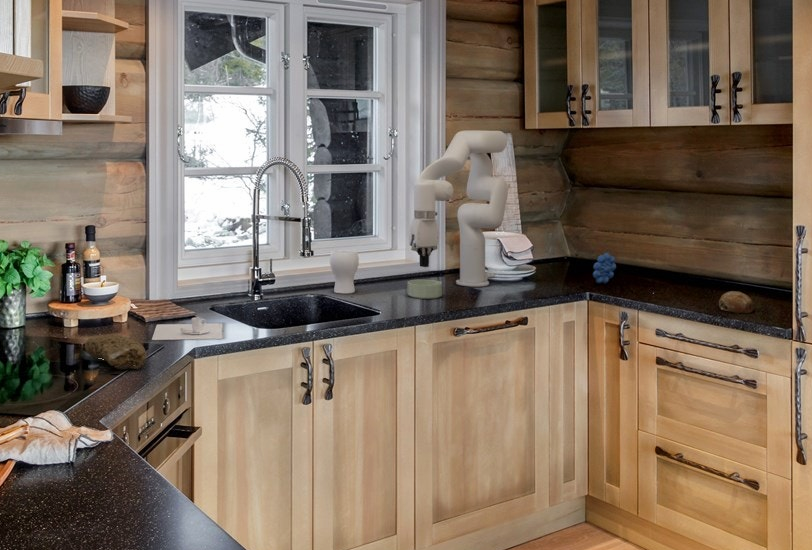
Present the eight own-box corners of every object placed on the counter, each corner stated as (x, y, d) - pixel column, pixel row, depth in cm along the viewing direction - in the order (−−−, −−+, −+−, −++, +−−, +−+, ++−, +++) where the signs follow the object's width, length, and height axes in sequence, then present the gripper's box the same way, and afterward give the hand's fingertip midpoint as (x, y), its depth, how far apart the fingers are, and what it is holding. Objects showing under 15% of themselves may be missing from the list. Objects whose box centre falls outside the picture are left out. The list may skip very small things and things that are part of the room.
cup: (358, 289, 316) (358, 249, 316) (358, 294, 306) (358, 253, 306) (330, 289, 317) (330, 249, 317) (329, 294, 307) (329, 253, 307)
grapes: (606, 280, 333) (606, 250, 333) (620, 283, 327) (620, 252, 327) (584, 283, 328) (585, 252, 328) (598, 285, 322) (598, 254, 322)
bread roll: (716, 318, 280) (708, 297, 278) (737, 303, 283) (729, 282, 281) (741, 324, 270) (734, 303, 269) (763, 309, 273) (755, 287, 272)
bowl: (428, 292, 311) (428, 278, 311) (449, 297, 300) (449, 283, 300) (400, 294, 305) (400, 281, 305) (421, 300, 294) (421, 286, 294)
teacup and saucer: (179, 335, 243) (179, 321, 243) (181, 329, 251) (181, 315, 251) (210, 335, 243) (210, 321, 243) (210, 329, 251) (210, 315, 251)
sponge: (152, 373, 209) (132, 339, 226) (148, 345, 207) (128, 313, 224) (100, 388, 204) (83, 353, 222) (95, 360, 202) (78, 326, 219)
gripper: (435, 214, 308) (434, 264, 309) (401, 215, 302) (400, 266, 302) (448, 215, 302) (447, 266, 302) (413, 216, 295) (413, 269, 295)
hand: (424, 266), depth 302 cm, fingers closed
